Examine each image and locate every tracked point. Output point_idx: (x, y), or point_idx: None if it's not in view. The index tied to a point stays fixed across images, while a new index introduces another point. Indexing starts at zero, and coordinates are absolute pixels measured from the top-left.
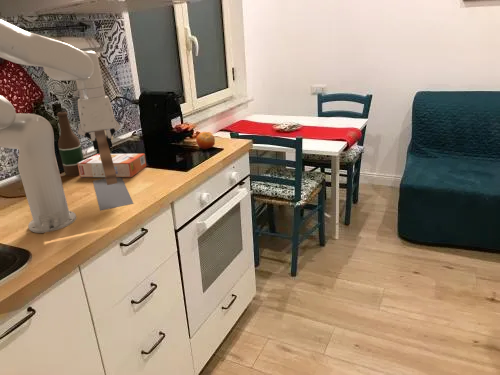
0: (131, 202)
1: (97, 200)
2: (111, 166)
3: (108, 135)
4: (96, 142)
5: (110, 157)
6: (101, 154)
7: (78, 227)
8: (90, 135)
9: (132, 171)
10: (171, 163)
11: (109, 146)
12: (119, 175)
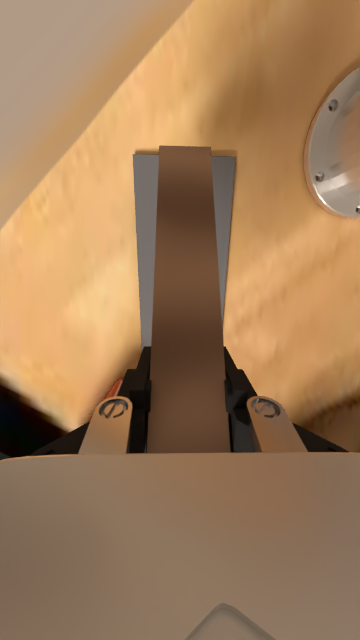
0: (138, 168)
1: (227, 253)
2: (171, 184)
3: (119, 415)
4: (234, 380)
5: (162, 237)
6: (211, 272)
7: (314, 57)
8: (296, 450)
9: (109, 393)
10: (10, 433)
11: (146, 356)
12: None
